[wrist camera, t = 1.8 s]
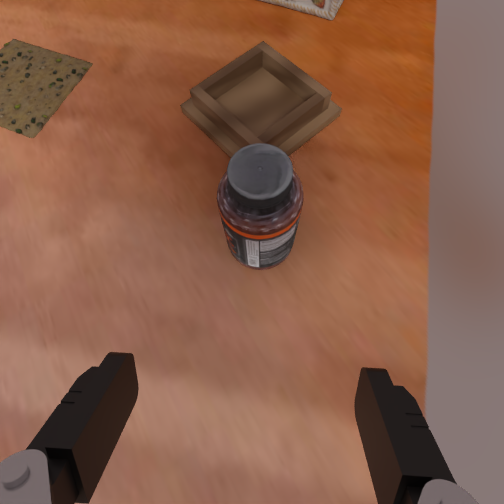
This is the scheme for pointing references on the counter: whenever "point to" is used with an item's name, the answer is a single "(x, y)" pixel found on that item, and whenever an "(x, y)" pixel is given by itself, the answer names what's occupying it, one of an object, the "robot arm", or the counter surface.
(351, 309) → the counter surface
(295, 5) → the decorative jar
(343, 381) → the counter surface
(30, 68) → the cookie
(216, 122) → the walnut tray
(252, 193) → the supplement bottle
